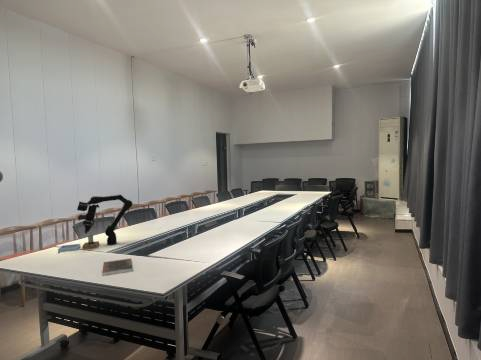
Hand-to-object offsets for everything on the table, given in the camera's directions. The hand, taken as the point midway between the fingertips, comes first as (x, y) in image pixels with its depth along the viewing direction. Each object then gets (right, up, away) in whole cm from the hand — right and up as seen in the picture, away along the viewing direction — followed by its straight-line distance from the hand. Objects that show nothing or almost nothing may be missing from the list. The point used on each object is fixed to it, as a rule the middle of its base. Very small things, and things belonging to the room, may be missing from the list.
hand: (87, 232), depth 242 cm
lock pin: (+3, -12, +1) cm, 12 cm away
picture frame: (+43, -14, -50) cm, 68 cm away
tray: (-12, -13, -3) cm, 18 cm away
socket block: (+3, -12, +1) cm, 13 cm away
